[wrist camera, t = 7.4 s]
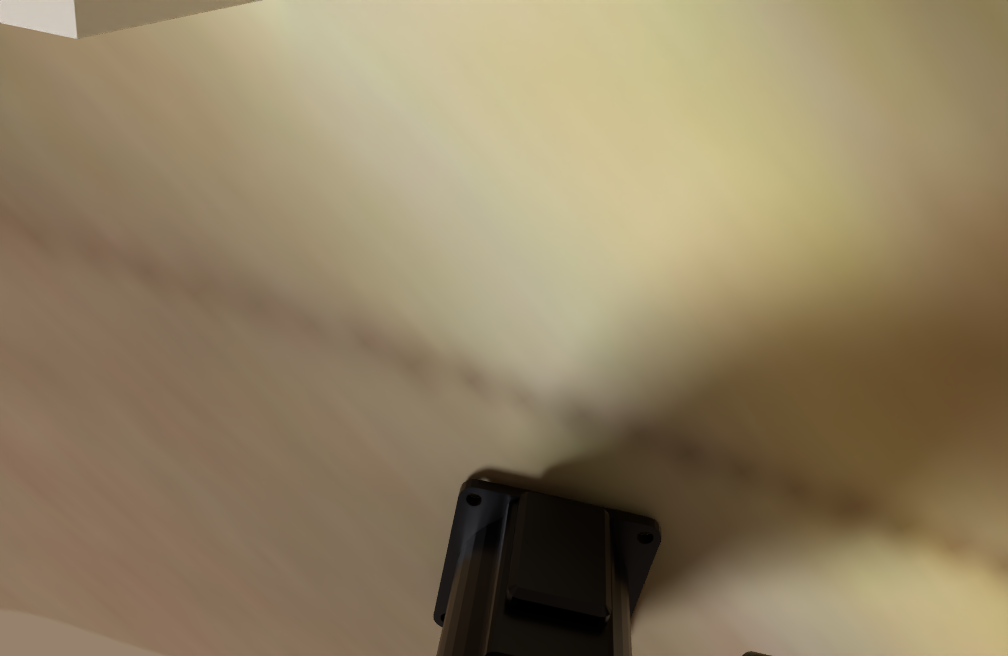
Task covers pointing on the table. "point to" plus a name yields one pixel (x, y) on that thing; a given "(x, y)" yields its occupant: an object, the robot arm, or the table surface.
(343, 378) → the table surface
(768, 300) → the table surface
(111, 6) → the plain grey block
